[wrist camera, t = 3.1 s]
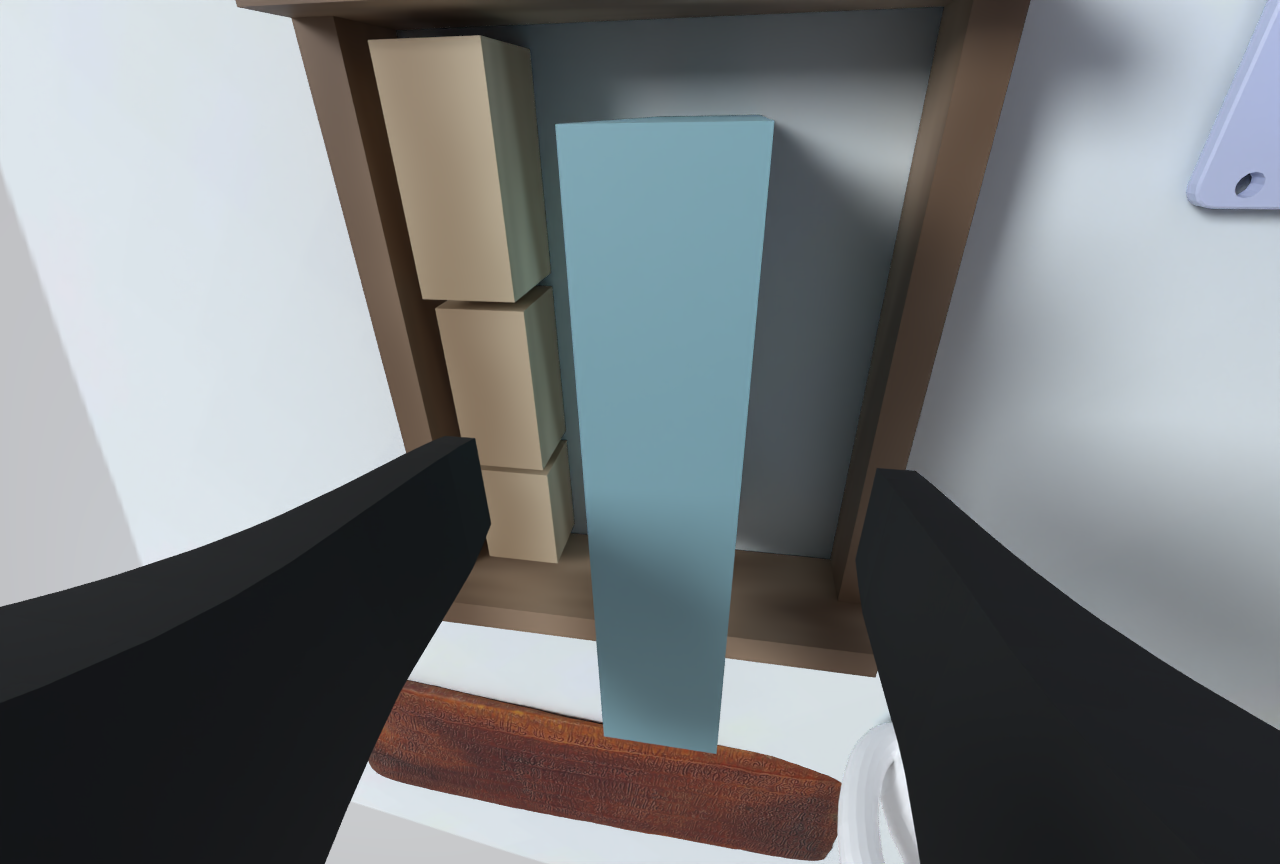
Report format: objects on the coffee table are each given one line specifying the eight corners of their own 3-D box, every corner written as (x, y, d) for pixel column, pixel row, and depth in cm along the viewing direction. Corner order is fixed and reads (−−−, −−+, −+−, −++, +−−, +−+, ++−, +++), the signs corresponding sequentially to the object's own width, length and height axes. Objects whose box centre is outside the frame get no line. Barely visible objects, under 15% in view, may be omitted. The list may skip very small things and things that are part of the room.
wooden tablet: (381, 759, 34) (364, 787, 33) (350, 653, 29) (329, 681, 28) (818, 861, 32) (821, 896, 30) (869, 763, 26) (875, 800, 25)
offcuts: (530, 49, 14) (480, 35, 11) (574, 523, 21) (550, 579, 19) (436, 52, 14) (367, 39, 12) (512, 517, 22) (480, 571, 19)
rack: (1007, -57, 11) (1117, -127, 8) (854, 582, 20) (875, 677, 17) (349, -18, 14) (217, -61, 10) (470, 541, 23) (421, 618, 19)
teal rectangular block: (759, 115, 14) (774, 121, 6) (729, 503, 20) (716, 753, 12) (659, 116, 14) (555, 123, 6) (659, 497, 20) (603, 736, 12)
